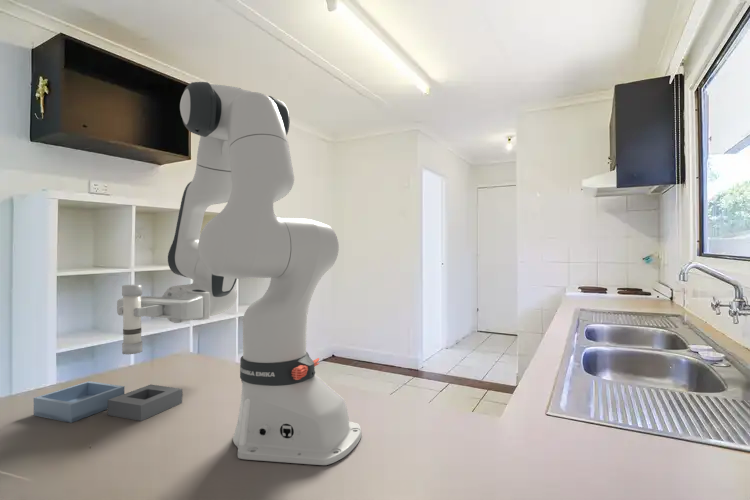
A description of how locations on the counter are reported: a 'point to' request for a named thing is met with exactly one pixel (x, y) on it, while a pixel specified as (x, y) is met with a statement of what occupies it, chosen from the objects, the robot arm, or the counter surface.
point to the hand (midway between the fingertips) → (128, 312)
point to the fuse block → (144, 402)
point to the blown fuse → (131, 319)
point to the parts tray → (76, 401)
